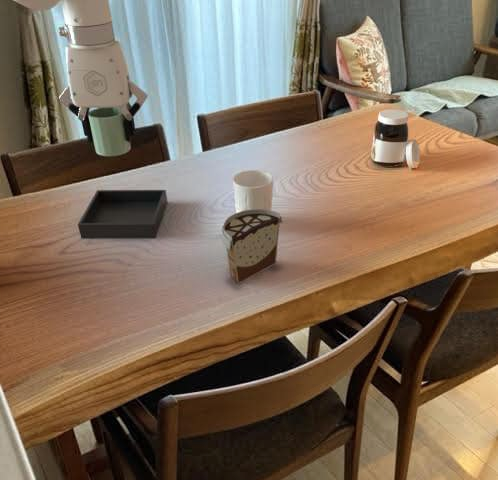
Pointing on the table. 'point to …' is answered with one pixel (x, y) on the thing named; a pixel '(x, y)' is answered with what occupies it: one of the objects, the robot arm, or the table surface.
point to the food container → (251, 242)
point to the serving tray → (124, 214)
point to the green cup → (108, 131)
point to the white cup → (253, 190)
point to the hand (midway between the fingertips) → (111, 138)
